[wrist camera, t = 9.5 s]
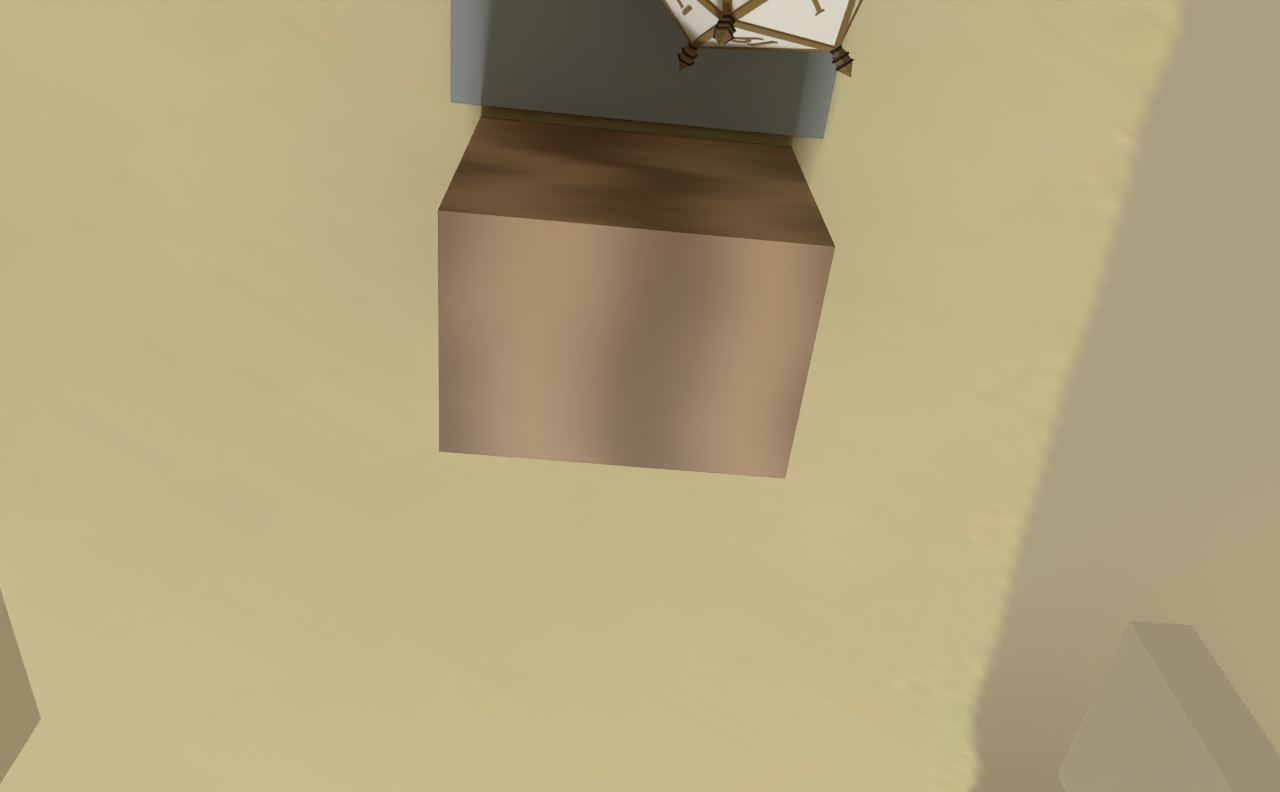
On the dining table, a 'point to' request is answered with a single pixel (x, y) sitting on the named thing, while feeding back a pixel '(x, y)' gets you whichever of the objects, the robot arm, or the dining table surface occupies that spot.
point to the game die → (765, 26)
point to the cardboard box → (627, 299)
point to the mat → (629, 68)
